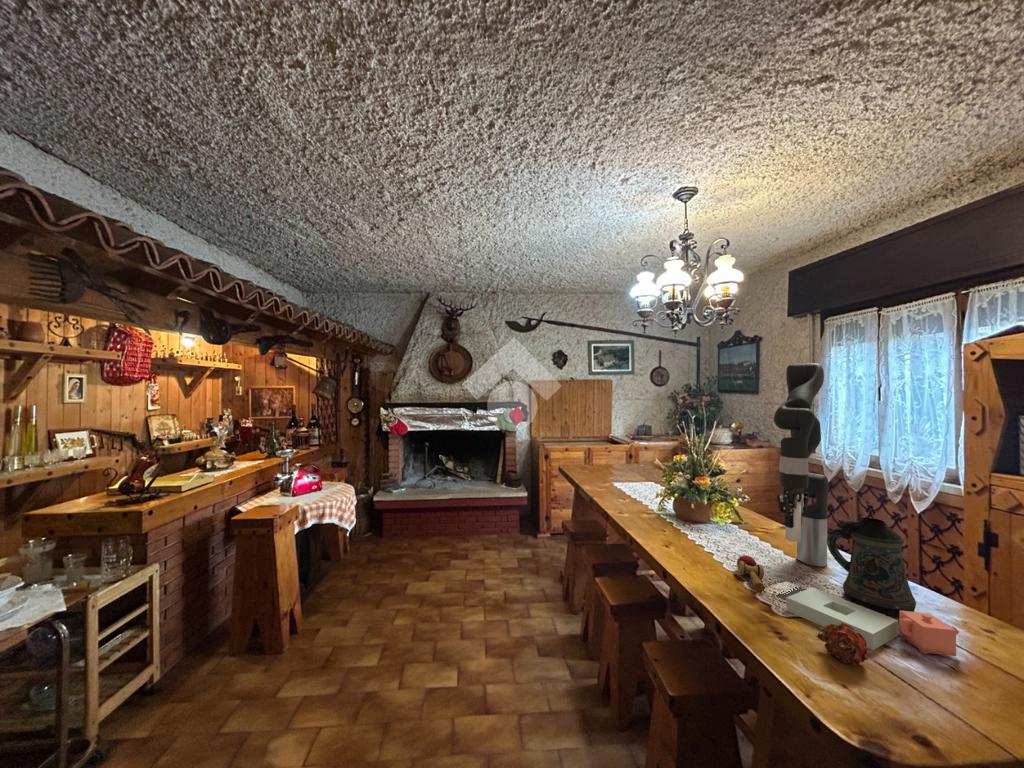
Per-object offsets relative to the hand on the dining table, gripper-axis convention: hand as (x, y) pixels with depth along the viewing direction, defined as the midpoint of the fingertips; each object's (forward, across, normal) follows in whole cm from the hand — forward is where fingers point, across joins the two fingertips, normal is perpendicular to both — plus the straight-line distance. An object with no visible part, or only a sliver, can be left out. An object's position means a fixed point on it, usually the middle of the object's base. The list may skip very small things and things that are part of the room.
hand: (793, 526), depth 128 cm
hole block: (+22, +5, +15) cm, 26 cm away
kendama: (+21, +2, -11) cm, 24 cm away
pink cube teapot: (+22, -2, +30) cm, 38 cm away
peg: (+4, 0, 0) cm, 4 cm away
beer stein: (+22, -17, +13) cm, 31 cm away
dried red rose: (+22, +22, +23) cm, 38 cm away
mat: (+21, -1, -2) cm, 22 cm away
